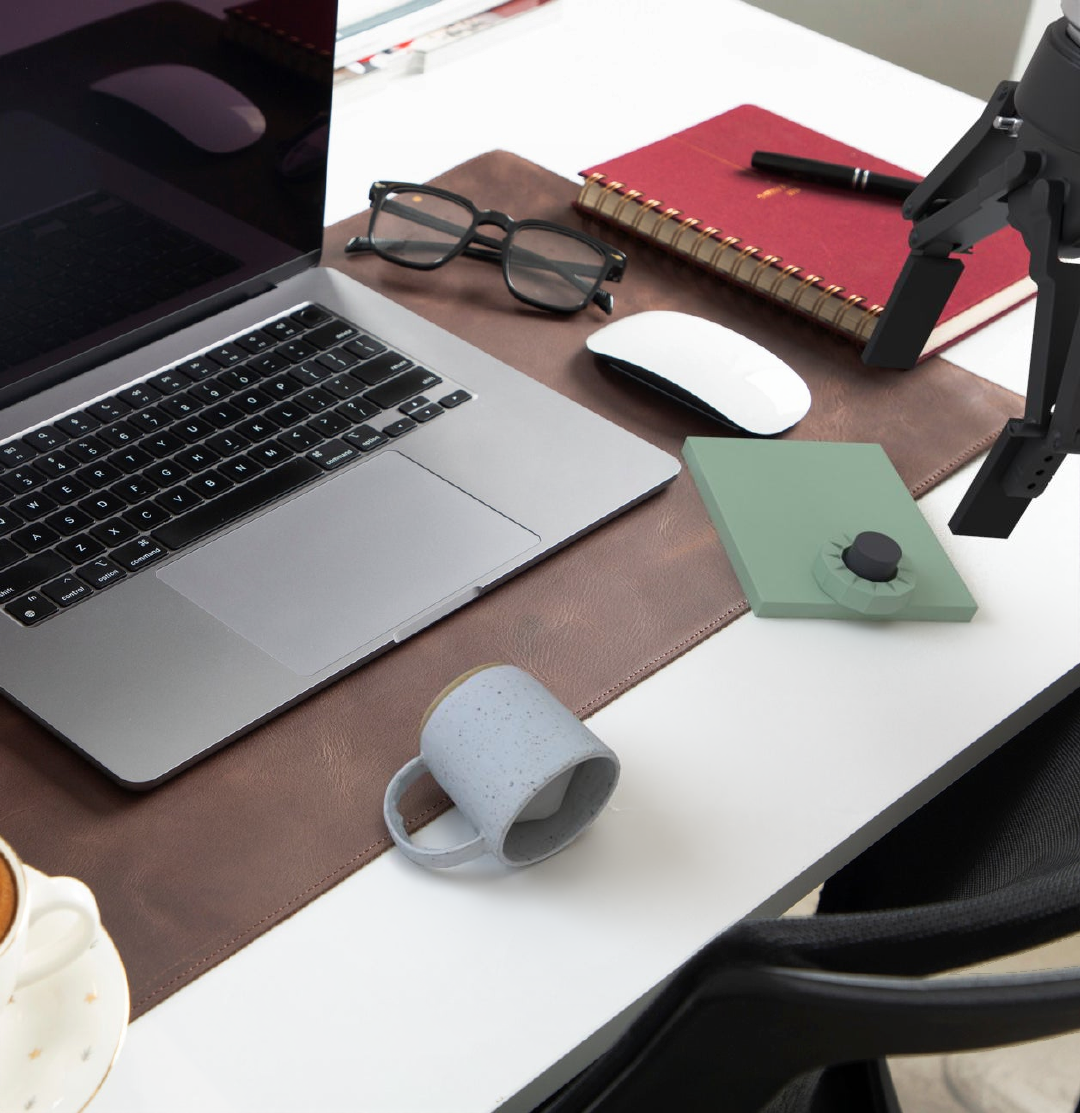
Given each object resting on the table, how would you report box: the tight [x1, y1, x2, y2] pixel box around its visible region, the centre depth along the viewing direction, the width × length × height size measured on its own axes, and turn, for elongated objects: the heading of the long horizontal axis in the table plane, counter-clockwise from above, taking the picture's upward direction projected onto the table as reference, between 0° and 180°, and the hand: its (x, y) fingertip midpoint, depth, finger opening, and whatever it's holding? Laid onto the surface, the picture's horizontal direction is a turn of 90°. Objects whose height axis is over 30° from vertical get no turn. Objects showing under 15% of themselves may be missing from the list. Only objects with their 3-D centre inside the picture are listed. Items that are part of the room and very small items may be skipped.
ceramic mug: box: [383, 661, 622, 869], centre depth 73 cm, size 11×8×8 cm
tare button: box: [845, 531, 902, 582], centre depth 89 cm, size 3×3×2 cm
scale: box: [681, 436, 979, 623], centre depth 94 cm, size 17×14×3 cm
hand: (928, 442), depth 74 cm, fingers open, 13 cm apart
